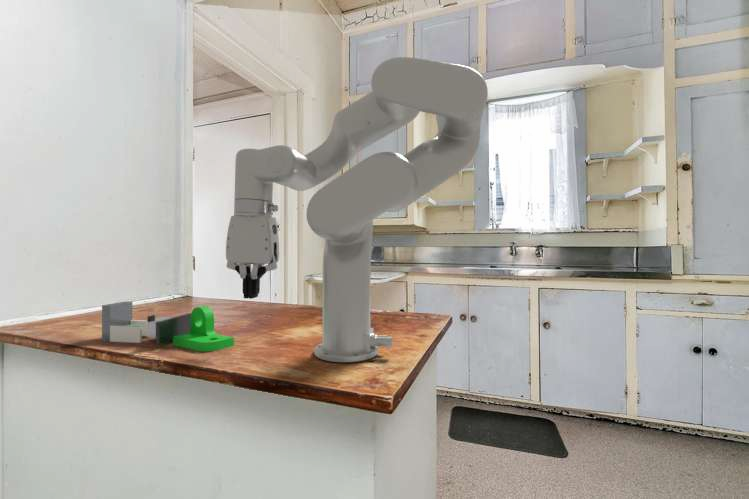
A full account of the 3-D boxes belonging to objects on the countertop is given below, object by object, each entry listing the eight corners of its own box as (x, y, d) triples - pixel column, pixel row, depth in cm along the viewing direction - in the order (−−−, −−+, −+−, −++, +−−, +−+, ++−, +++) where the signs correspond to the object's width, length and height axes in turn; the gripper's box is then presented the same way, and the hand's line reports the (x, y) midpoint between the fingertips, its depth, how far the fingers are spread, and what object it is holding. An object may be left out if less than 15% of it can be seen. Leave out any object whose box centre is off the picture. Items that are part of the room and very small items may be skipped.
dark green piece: (191, 333, 81) (191, 311, 81) (159, 345, 71) (159, 319, 71) (165, 332, 82) (165, 310, 82) (130, 343, 72) (130, 318, 72)
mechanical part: (172, 345, 74) (172, 308, 74) (198, 339, 79) (198, 305, 80) (208, 354, 68) (208, 313, 68) (233, 346, 74) (233, 309, 74)
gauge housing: (160, 336, 82) (160, 302, 82) (139, 342, 76) (139, 306, 76) (124, 334, 83) (124, 301, 83) (101, 341, 77) (102, 305, 77)
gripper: (294, 212, 75) (291, 296, 75) (229, 211, 77) (227, 293, 77) (280, 208, 67) (277, 302, 67) (209, 207, 69) (206, 298, 69)
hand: (250, 297), depth 72 cm, fingers closed
